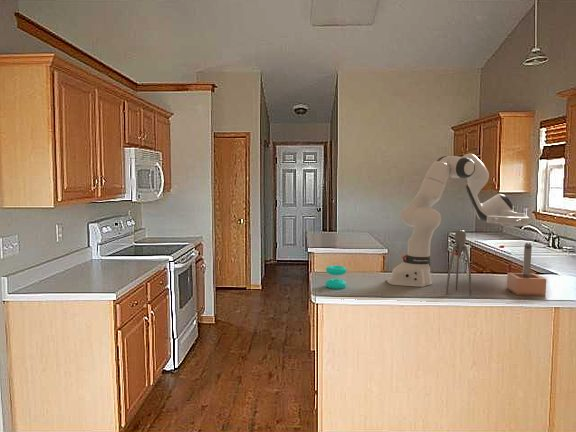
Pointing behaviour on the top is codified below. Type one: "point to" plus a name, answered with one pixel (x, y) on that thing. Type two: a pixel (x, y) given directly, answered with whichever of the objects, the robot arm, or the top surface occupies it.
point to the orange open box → (526, 284)
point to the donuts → (336, 282)
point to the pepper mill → (527, 260)
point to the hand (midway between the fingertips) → (507, 221)
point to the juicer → (460, 242)
